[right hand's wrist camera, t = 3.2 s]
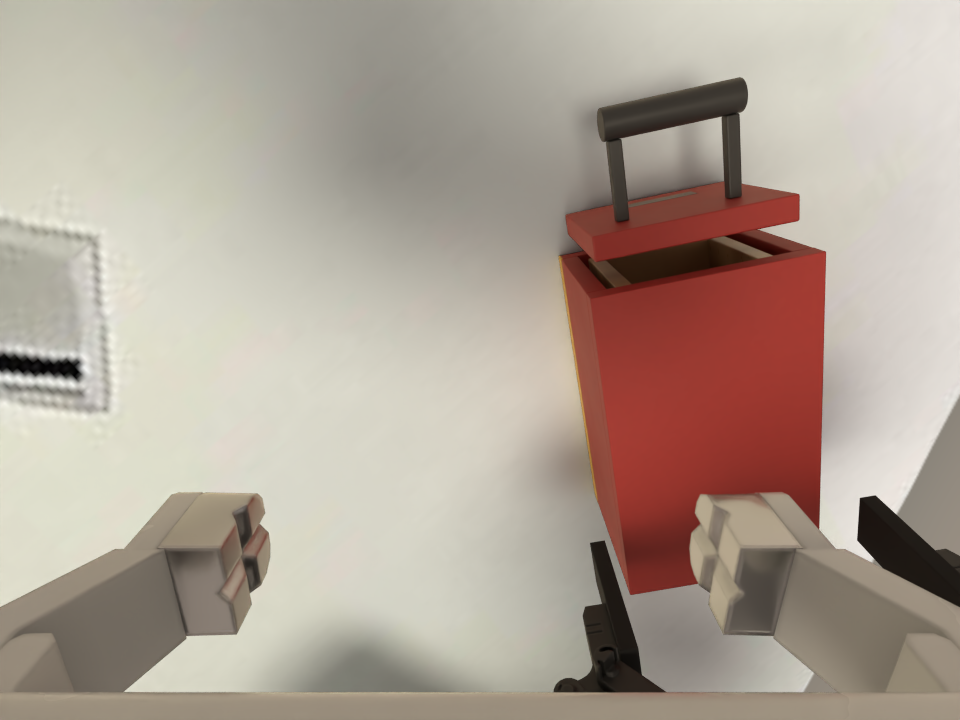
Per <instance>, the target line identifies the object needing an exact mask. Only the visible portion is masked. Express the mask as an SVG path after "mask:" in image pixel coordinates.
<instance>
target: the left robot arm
mask: <svg viewBox="0 0 960 720" xmlns="http://www.w3.org/2000/svg"><path fill="white" fill-rule="evenodd" d="M857 541H858V542H859V543H860V544H861V545H862V546H863V547H864V548H865V549H866V550H867V551H868V553H869V554H870V555H871V556H872V557H873V558H874V559H875V560H876V561H877V562H878V563H879V564H880V565H881V566H882V568H883V569H885V570H887V571H889V572H891V573H893V574H895V575H897V576H899V577H901V578H903V579H905V580H907V581H909V582H911V583H913V584H915V585H917V586H919V587H921V588H923V589H925V590H926V591H928V592H930V593H932V594H934V595H936V596H938V597H940V598H942V599H944V600H946V601H948V602H950V603H952V604H954V605H956V606H958V607H960V556H959V555H957V554H955V553H953V552H951V551H949V550H947V549H941V550H934V549H933V548H932V547H931V546H930V545H929V544H928V543H926V542H925V541H924V540H923V539H922V538H921V537H920V536H919V535H918V534H917V533H916V532H914V531H913V530H912V529H911V528H910V527H909V526H908V525H907V524H906V523H905V522H904V521H903V520H902V519H900V518H899V517H898V516H897V515H896V514H895V513H894V512H893V511H892V510H891V509H890V508H888V507H887V506H886V505H885V504H884V503H883V502H882V501H881V500H880V499H879V498H878V497H877V496H869V497H863V498H860V506H859V522H858V537H857ZM590 545H591V552H592V558H593V564H594V570H595V576H596V582H597V586H598V590H599V594H600V597H601V601H602V604H599V605H593V606H587V607H585V609H584V613H583V620H584V625H585V631H586V636H587V641H588V646H589V650H590V655H591V660H592V664H593V666H592V669H591V671H590V673H589V674H588V675H587V676H586V677H584V678H582V679H580V680H578V681H577V680H575V679H572V678H565V679H563V680H560V681H559V682H558V683H557V684H556V686H555V688H554V692H564V693H628V692H665V691H664V690H662V689H661V688H660V687H658V686H657V685H655V684H654V683H652V682H651V681H649V680H648V679H646V678H645V677H644V676H642V673H641V666H640V658H639V651H638V646H637V643H636V640H635V636H634V633H633V630H632V627H631V624H630V620H629V617H628V614H627V611H626V608H625V604H624V601H623V598H622V595H621V592H620V588H619V585H618V582H617V579H616V576H615V572H614V569H613V566H612V563H611V560H610V556H609V553H608V550H607V547H606V544H605V541H599V542H593V543H590Z"/></svg>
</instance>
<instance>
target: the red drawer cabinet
mask: <svg viewBox="0 0 960 720" xmlns="http://www.w3.org/2000/svg"><path fill="white" fill-rule="evenodd" d="M725 237H728V238H730V239H733V240H735V241H738V242H740V243H743V244H745V245H748V246H750V247H753V248H755V249H758V250H760V251H763V252H765V253H768V254H770V255H773V256H769V257H764V258H759V259H754V260H749V261H744V262H739V263H735V264H730V265H725V266H720V267H715V268H710V269H705V270H700V271H695V272H690V273H685V274H680V275H675V276H670V277H665V278H660V279H655V280H650V281H645V282H640V283H635V284H630V285H625V286H620V287H615V288H610V289H606V288H605V287H604V286H603V285H602V284H601V282H600V281H599V280H598V279H597V278H596V277H595V276H594V275H593V273H592V272H591V271H590V269H589V262H588V260H589V259H590V258H591V257H590V256H589V255H588V254H587V253H586V252H585V251H582V252H577V253H572V254H567V255H562V256H559V263H560V269H561V276H562V282H563V289H564V295H565V302H566V308H567V315H568V321H569V328H570V335H571V341H572V348H573V354H574V361H575V367H576V374H577V380H578V387H579V393H580V400H581V406H582V413H583V419H584V426H585V433H586V439H587V446H588V452H589V459H590V465H591V472H592V478H593V485H594V491H595V496H596V499H597V502H598V504H599V506H600V509H601V512H602V515H603V518H604V521H605V524H606V527H607V529H608V532H609V535H610V538H611V541H612V544H613V547H614V549H615V552H616V555H617V558H618V561H619V564H620V567H621V569H622V572H623V575H624V578H625V581H626V584H627V587H628V590H629V592H630V595H634V594H640V593H646V592H651V591H657V590H663V589H669V588H675V587H681V586H687V585H693V584H698V582H697V580H696V578H695V576H694V573H693V569H692V566H691V561H690V549H689V547H690V540H691V533H692V532H693V531H694V530H695V529H696V528H697V527H698V526H699V525H700V524H701V523H700V521H699V520H698V518H697V516H696V514H695V509H696V503H697V500H698V498H699V496H700V494H750V493H765V492H783V493H785V494H787V495H789V496H790V497H791V498H792V499H793V500H794V502H795V503H796V504H797V505H798V506H799V507H800V508H801V510H802V511H803V512H804V513H805V514H806V515H807V516H808V518H809V519H810V520H811V521H812V522H813V523H814V524H815V526H816V527H817V528H818V529H819V516H820V475H821V434H822V393H823V353H824V312H825V271H826V252H825V251H822V250H819V249H816V248H812V247H809V246H806V245H803V244H800V243H797V242H794V241H791V240H788V239H784V238H781V237H778V236H775V235H772V234H769V233H766V232H763V231H760V230H757V229H756V230H752V231H747V232H742V233H737V234H732V235H727V236H725Z"/></svg>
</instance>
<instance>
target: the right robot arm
mask: <svg viewBox="0 0 960 720" xmlns="http://www.w3.org/2000/svg"><path fill="white" fill-rule="evenodd" d="M264 514H265V509H264V504H263V500H262V497H261V496H260V495H258V494H256V493H209V492H206V493H202V492H179V493H175V494H172V495H171V496H170V497H169V498H168V499H167V500H166V502H165V503H164V504H163V505H162V506H161V507H160V508H159V510H158V511H157V512H156V513H155V514H154V515H153V516H152V518H151V519H150V520H149V521H148V522H147V523H146V524H145V526H144V527H143V528H142V529H141V530H140V531H139V532H138V534H137V535H136V536H135V537H134V538H133V539H132V540H131V542H130V543H129V544H128V545H127V546H126V547H125V548H124V549H114V550H112V551H110V552H108V553H106V554H104V555H103V556H101V557H99V558H97V559H95V560H93V561H91V562H89V563H87V564H85V565H83V566H81V567H79V568H77V569H75V570H73V571H71V572H69V573H67V574H65V575H63V576H61V577H59V578H57V579H55V580H53V581H51V582H49V583H47V584H45V585H43V586H41V587H39V588H37V589H35V590H33V591H31V592H29V593H27V594H25V595H23V596H21V597H19V598H17V599H16V600H14V601H12V602H10V603H8V604H6V605H4V606H2V607H0V720H960V607H958V606H956V605H954V604H952V603H950V602H948V601H946V600H944V599H942V598H940V597H938V596H936V595H934V594H932V593H930V592H928V591H926V590H925V589H923V588H921V587H919V586H917V585H915V584H913V583H911V582H909V581H907V580H905V579H903V578H901V577H899V576H897V575H895V574H893V573H891V572H889V571H887V570H885V569H883V568H881V567H879V566H877V565H875V564H873V563H871V562H869V561H867V560H865V559H863V558H861V557H859V556H857V555H856V554H854V553H852V552H850V551H848V550H846V549H836V548H835V547H834V546H833V545H832V544H831V543H830V542H829V540H828V539H827V538H826V537H825V536H824V535H823V534H822V532H821V531H820V530H819V529H818V528H817V527H816V526H815V524H814V523H813V522H812V521H811V520H810V519H809V518H808V516H807V515H806V514H805V513H804V512H803V511H802V510H801V508H800V507H799V506H798V505H797V504H796V503H795V502H794V500H793V499H792V498H791V497H790V496H789V495H787V494H785V493H783V492H765V493H750V494H700V496H699V498H698V500H697V503H696V509H695V514H696V516H697V518H698V520H699V521H700V523H701V524H700V525H699V526H698V527H697V528H696V529H695V530H694V531H693V532H692V533H691V540H690V547H689V549H690V561H691V566H692V569H693V573H694V576H695V578H696V580H697V582H698V584H699V585H700V586H701V587H702V588H704V589H705V590H707V591H708V592H709V593H710V597H709V603H708V605H709V607H710V609H711V611H712V613H713V615H714V617H715V619H716V621H717V623H718V625H719V627H720V629H721V631H722V633H723V634H725V635H761V636H774V639H775V640H776V641H777V642H778V643H780V644H781V645H782V646H783V647H784V648H786V649H787V650H788V651H789V652H790V653H791V654H793V655H794V656H795V657H796V658H797V659H799V660H800V661H801V662H802V663H803V664H804V665H806V666H807V667H808V668H809V669H810V670H812V671H813V672H814V673H815V674H816V675H817V676H819V677H820V678H821V679H822V680H823V681H825V682H826V683H827V684H828V685H829V686H830V687H832V688H833V689H834V690H835V691H837V692H628V693H564V692H124V691H125V690H126V689H127V688H129V687H130V686H131V685H132V684H133V683H134V682H136V681H137V680H138V679H139V678H140V677H142V676H143V675H144V674H145V673H146V672H147V671H149V670H150V669H151V668H152V667H153V666H155V665H156V664H157V663H158V662H159V661H160V660H162V659H163V658H164V657H165V656H166V655H168V654H169V653H170V652H171V651H172V650H174V649H175V648H176V647H177V646H178V645H179V644H181V643H182V642H183V641H184V640H185V639H186V636H199V635H233V634H237V633H238V631H239V629H240V627H241V625H242V623H243V621H244V619H245V617H246V615H247V613H248V611H249V609H250V607H251V605H252V603H251V597H250V593H251V592H252V591H253V590H255V589H256V588H258V587H259V586H260V585H261V584H262V582H263V580H264V578H265V576H266V573H267V569H268V565H269V560H270V539H269V533H268V532H267V531H266V530H265V529H264V528H263V527H262V526H261V525H260V524H259V523H260V521H261V520H262V518H263V516H264Z"/></svg>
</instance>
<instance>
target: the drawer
mask: <svg viewBox="0 0 960 720" xmlns="http://www.w3.org/2000/svg"><path fill="white" fill-rule="evenodd" d="M747 100H748V90H747V85H746V82H745V80H744V79H743V78H735V79H730V80H725V81H721V82H716V83H712V84H707V85H703V86H698V87H694V88H689V89H685V90H680V91H676V92H671V93H666V94H662V95H657V96H653V97H648V98H644V99H639V100H635V101H630V102H626V103H621V104H617V105H612V106H607V107H603V108H600V109H598V113H597V124H598V131H599V135H600V138H601V140H602V141H603V142H606V141H607V142H606V147H607V156H608V165H609V174H610V183H611V191H612V200H613V205H609V206H604V207H599V208H595V209H590V210H585V211H580V212H576V213H571V214H567V215H566V223H567V230H568V235H569V236H570V237H571V238H572V239H573V240H574V241H575V242H576V243H577V244H578V245H579V246H580V247H581V248H582V249H583V250H584V251H585V252H586V253H587V254H588V255H589V256H590V257H591V258H590V259H589V260H588V262H589V269H590V271H591V272H592V273H593V275H594V276H595V277H596V278H597V279H598V280H599V281H600V282H601V284H602V285H603V286H604V287H605V288H606V289H610V288H615V287H620V286H625V285H630V284H635V283H640V282H645V281H650V280H655V279H660V278H665V277H670V276H675V275H680V274H685V273H690V272H695V271H700V270H705V269H710V268H715V267H720V266H725V265H730V264H735V263H739V262H744V261H749V260H754V259H759V258H764V257H769V256H773V255H770V254H768V253H765V252H763V251H760V250H758V249H755V248H753V247H750V246H748V245H745V244H743V243H740V242H738V241H735V240H733V239H730V238H728V237H725V236H727V235H732V234H737V233H742V232H747V231H752V230H756V229H761V228H766V227H771V226H776V225H781V224H786V223H791V222H796V221H798V220H799V201H800V196H799V194H796V193H790V192H784V191H779V190H773V189H768V188H762V187H757V186H751V185H745V184H741V150H740V117H739V113H740V112H742V111H743V110H744V109H745V107H746V105H747ZM717 117H722V137H723V161H724V181H723V182H719V183H714V184H709V185H704V186H699V187H695V188H690V189H685V190H680V191H676V192H671V193H666V194H661V195H657V196H652V197H647V198H642V199H638V200H633V201H628V199H627V189H626V180H625V170H624V160H623V151H622V141H621V139H620V138H625V137H629V136H634V135H638V134H643V133H648V132H652V131H657V130H662V129H666V128H671V127H675V126H680V125H685V124H689V123H694V122H698V121H703V120H708V119H712V118H717Z"/></svg>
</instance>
